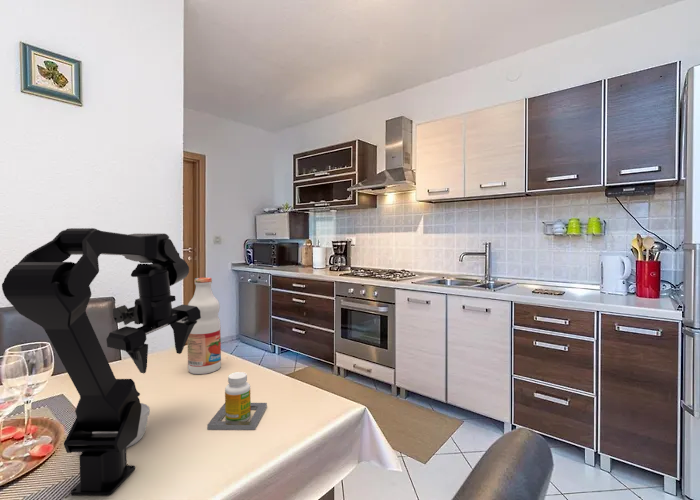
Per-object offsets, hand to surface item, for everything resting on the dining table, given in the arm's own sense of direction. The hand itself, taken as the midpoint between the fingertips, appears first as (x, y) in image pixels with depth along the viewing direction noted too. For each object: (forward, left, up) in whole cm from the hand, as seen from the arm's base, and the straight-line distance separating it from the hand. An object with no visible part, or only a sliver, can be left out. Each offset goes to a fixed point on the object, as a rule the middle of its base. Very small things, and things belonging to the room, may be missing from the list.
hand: (162, 362), depth 76 cm
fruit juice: (+31, +4, -14) cm, 35 cm away
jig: (+2, -16, -13) cm, 21 cm away
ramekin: (-7, +5, -14) cm, 16 cm away
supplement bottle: (+2, -16, -14) cm, 21 cm away
